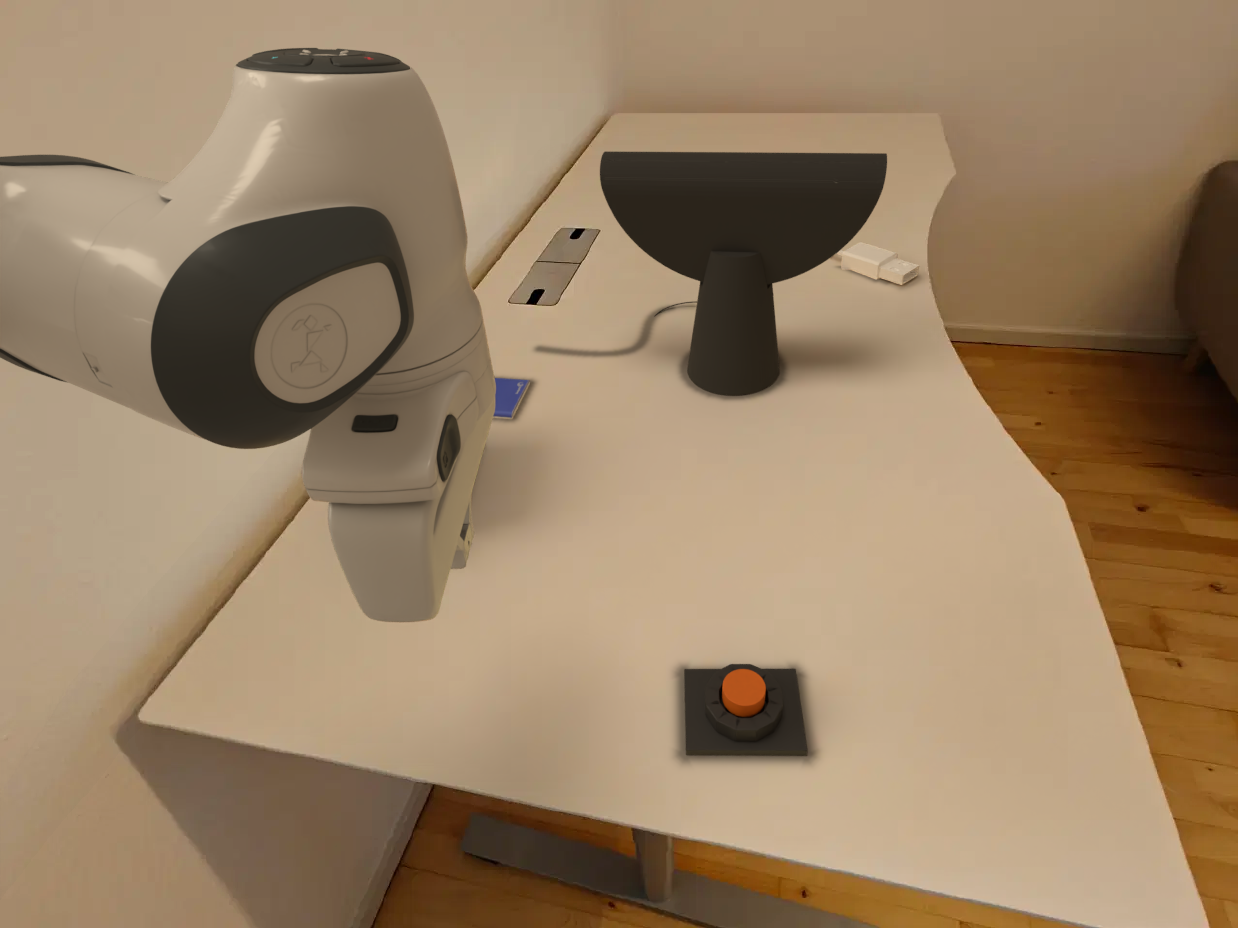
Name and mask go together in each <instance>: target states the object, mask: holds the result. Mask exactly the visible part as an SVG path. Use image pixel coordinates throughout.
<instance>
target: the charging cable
mask: <svg viewBox="0 0 1238 928" xmlns="http://www.w3.org/2000/svg"><path fill="white" fill-rule="evenodd" d="M835 255H839V256H841V266H840V270H842V271H852V272H855V273H857V274H860V275H863V276H864V277H868V278H871V279H873V280H875V281H877V280H879V279H882V280H885V281H888V282H891V283H894V284H897V285H900V286H903V285H904V284H906V283H908V282H909V281H911V280H913V279H914V278H916V277H917V276H919V269H920V265H919V264H916V263H913V262H911V261H907V260H903V259H901V258H898V256H899V254H898V253H897V252H895V251H891V250H888V249H885V248H882V247H880V246H876V245H873V244H869V243H865V242H862V241H860V242H858V243H856V244H854V245H852V246H850V247H848V248H847V249H845V250H842V249H841V250H840V251H839V252H837V253H836V254H835Z"/></svg>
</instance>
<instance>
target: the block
mask: <svg viewBox="0 0 1238 928" xmlns="http://www.w3.org/2000/svg"><path fill="white" fill-rule="evenodd" d="M738 669H748V670H751V671H754V672H756V673H757V674H758V675H760V676H761V678H762V679H763V680H764V682H765V686H766V693H765V703H764V706H763V708H762V710H761V711H760V712H759V713H757V714H756V715H754V716H751V717H739V716H736V715H734V714H732V713H731V712H729V711H728V710H727V709H726V707H725V706H724V704H723V700H722V687H723V681H724V679H725V677H726V676H727V675H728V674H729V673H730V672H732V671H734V670H738ZM797 675H798V674H797V669H796V668H761V667H758V666H757V665H754V664H751V663H730V664H728V665H726V666H724V667H722V668H684V669H683V678H684V679H683V683H684V726H685V727H684V728H685V755H686V756H750V757H751V756H759V757H760V756H763V757H764V756H766V757H768V756H771V757H773V756H774V757H777V756H778V757H780V756H781V757H783V756H784V757H803V756H804V757H806V756H807V755H808V744H807V738H806V730H805V723H804V718H803V717H804V716H803V709H802V702H801V696H800V689H799V681H798V676H797Z"/></svg>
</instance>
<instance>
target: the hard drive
mask: <svg viewBox="0 0 1238 928" xmlns="http://www.w3.org/2000/svg"><path fill="white" fill-rule="evenodd" d="M494 378H495V383H496V393H495V412H494V415H493V418H492V419H506V420H513V419H514V418H515V417H514V416H515V415H516V413H517V410H518V409H519V407H520V405H521V403H522V401H523V400H524V399H523V398H524V397H525V395H526V392H527V391H528V389H529V387H530V384H531V380H530V379H520V378H519V379H518V378H505V377H494Z"/></svg>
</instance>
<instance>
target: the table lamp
mask: <svg viewBox="0 0 1238 928" xmlns="http://www.w3.org/2000/svg"><path fill="white" fill-rule="evenodd" d="M887 154H888V153H885V152H883V153H881V152H878V153H877V152H873V153H872V152H871V153H870V152H763V151H762V152H755V151H754V152H752V151H751V152H750V151H749V152H748V151H747V152H745V151H742V152H741V151H738V152H737V151H604V152H602V155H601V158H600V163H599V181H600V186H601V191H602V193H603V196H604V199H605V201H606V204H607V206H608V207H609V210H610V211H611V214H612V215H613V217H614V218H615V220H616V222H617V223H618V225H619V226H620V227H621V229H622V230H623V231H624V233H625V234H626V235H627V236H628V237H629V238H630V240H631V241H633V243H634V244H635V245H637V247H638V248H640V250H642V252H644V253H645V254H646V255H647V256H648V257H650V258H652V259H653V260H654V261H656V262H657V263H659V264H661V265H662V266H664V267H665V268H667V269H669V270H671V271H673V272H675V273H677V274H679V275H681V276H684V277H686V278H689V279H692V280H695V281H698V282H699V287H698V294H697V300H696V301H684V302H679V303H675V304H672V305H669V306H667V307H664V308H662V309H661V310H659V311H658V312H657V313H656V314H655V315H653V318H654V317H656V316H657V315H658V314H660V313H661V312H663V311H665V310H667V309H669V308H671V307H675V306H678V305H684V304H694V303H696V308H695V314H694V321H693V328H692V335H691V342H690V347H689V355H688V361H687V367H686V372H687V376H688V378H689V379H690V381H691V382H692V384H694V385H695V386H696V387H698V388H699V389H701V390H703V391H705V392H708V393H711V394H714V395H718V396H725V397H743V396H744V397H745V396H750V395H754V394H758V393H760V392H763V391H765V390H767V389H768V388H770V387H772V385H774V384H775V383H776V381H777V380H778V378H779V376H780V371H781V369H780V356H779V346H778V334H777V333H778V332H777V323H776V310H775V309H776V308H775V298H774V297H775V296H774V287H773V286H774V285H773V284H777V283H780V282H785V281H787V280H790V279H793V278H796V277H798V276H801V275H803V274H805V273H807V272H810V271H811V270H813V269H815V268H817V267H818V266H820V265H822V264H823V263H825V262H827V261H828V260H829V259H831V258H833V256H835V255H837V254H836V253H837V252H839V251H840V250H842V249H844V247H846V246H847V245H848V244H849V243H850V242H851V241H852V240H853V239H854V238H855V236H856V235H857V234H858V233H859V232H860V231H861V230H862V228H863V227H864V226H865V225H866V223H867V221H868V220H869V218H870V217H871V215H872V213H873V211H874V209H875V208H876V206H877V204H878V202H879V201H880V197H881V195H882V192H883V190H884V187H885V182H886V177H887V170H888V155H887Z"/></svg>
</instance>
